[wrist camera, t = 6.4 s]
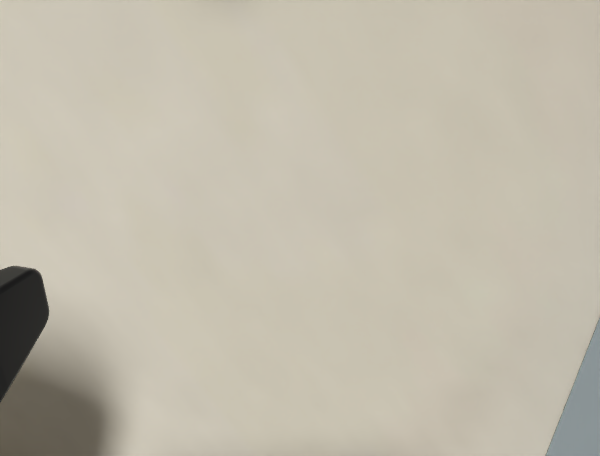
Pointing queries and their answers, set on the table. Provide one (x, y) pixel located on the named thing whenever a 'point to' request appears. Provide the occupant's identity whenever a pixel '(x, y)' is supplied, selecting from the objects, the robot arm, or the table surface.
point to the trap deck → (581, 409)
